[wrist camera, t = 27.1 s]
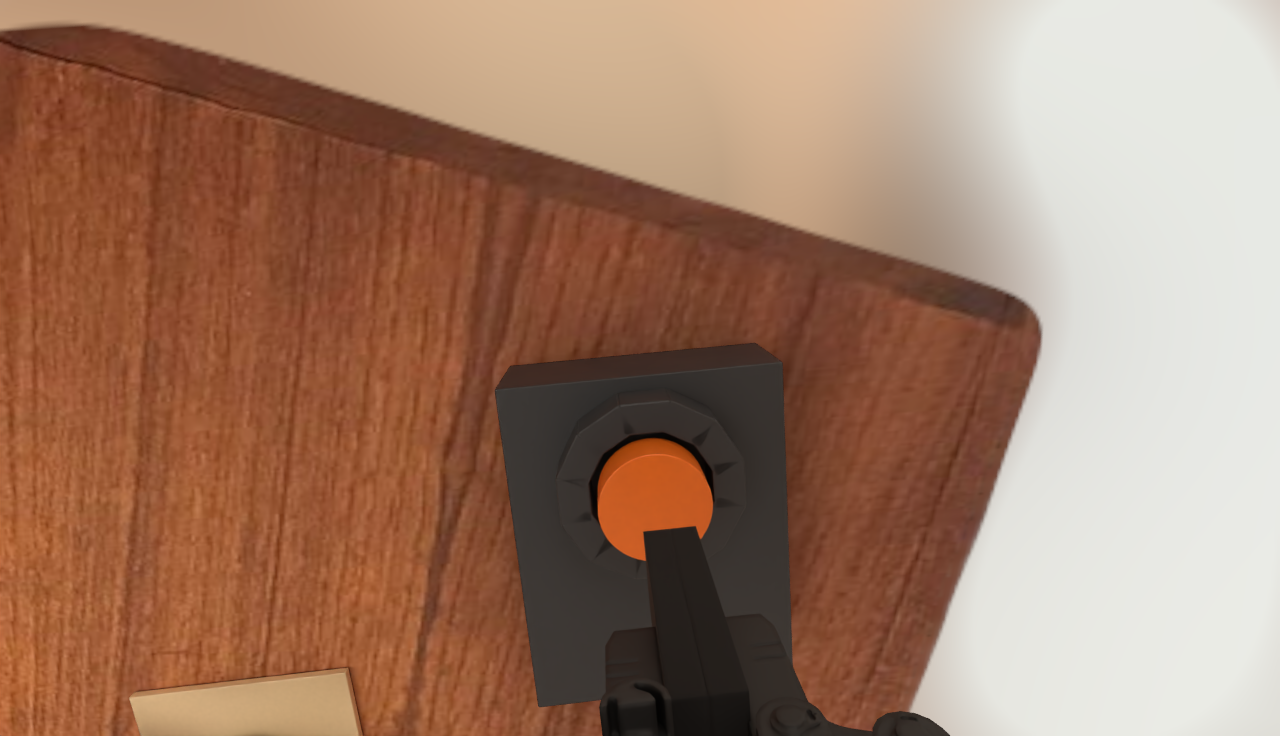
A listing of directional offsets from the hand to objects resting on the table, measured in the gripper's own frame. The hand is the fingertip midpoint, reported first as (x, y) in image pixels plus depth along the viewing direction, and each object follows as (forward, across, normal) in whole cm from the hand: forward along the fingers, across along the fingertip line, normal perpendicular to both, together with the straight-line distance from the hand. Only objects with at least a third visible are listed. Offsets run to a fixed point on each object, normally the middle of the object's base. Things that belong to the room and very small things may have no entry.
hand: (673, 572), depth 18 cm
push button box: (+11, 0, -3) cm, 12 cm away
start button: (+6, 0, 0) cm, 6 cm away
